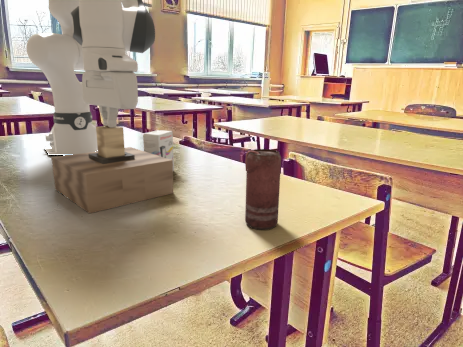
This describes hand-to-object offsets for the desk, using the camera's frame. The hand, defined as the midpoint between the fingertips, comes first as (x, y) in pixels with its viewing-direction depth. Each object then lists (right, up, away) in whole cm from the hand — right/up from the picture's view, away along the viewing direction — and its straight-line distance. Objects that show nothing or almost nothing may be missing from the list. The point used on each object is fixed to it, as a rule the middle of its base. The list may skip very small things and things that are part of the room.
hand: (110, 126), depth 81 cm
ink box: (+7, -11, +20) cm, 24 cm away
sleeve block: (0, -15, +4) cm, 15 cm away
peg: (0, -9, +2) cm, 9 cm away
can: (+33, -20, -13) cm, 41 cm away
